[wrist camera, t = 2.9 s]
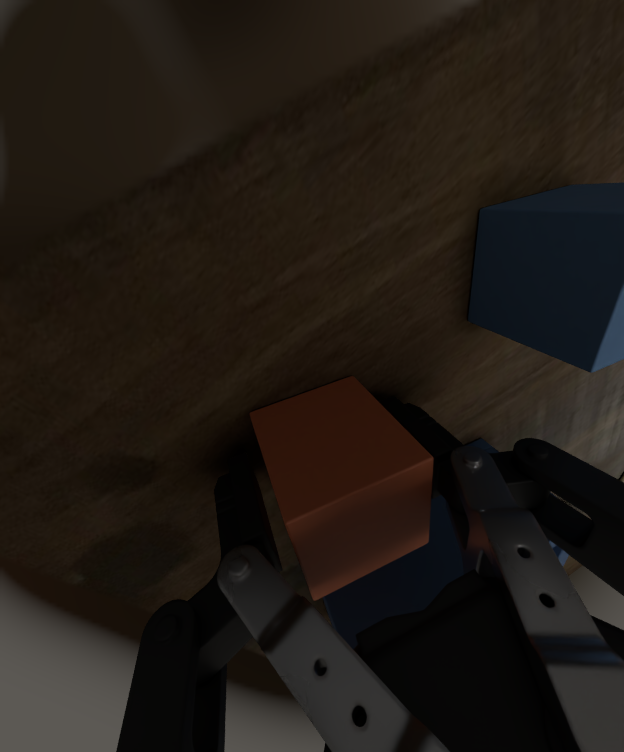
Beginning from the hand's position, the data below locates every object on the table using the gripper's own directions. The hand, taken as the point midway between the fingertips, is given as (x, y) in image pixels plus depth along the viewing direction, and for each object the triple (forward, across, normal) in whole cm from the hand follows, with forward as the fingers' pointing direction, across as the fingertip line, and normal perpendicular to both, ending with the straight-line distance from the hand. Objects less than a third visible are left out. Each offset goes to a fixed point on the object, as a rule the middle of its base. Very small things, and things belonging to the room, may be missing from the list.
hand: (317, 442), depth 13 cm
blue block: (+1, -10, -5) cm, 11 cm away
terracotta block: (+1, 0, 0) cm, 1 cm away
